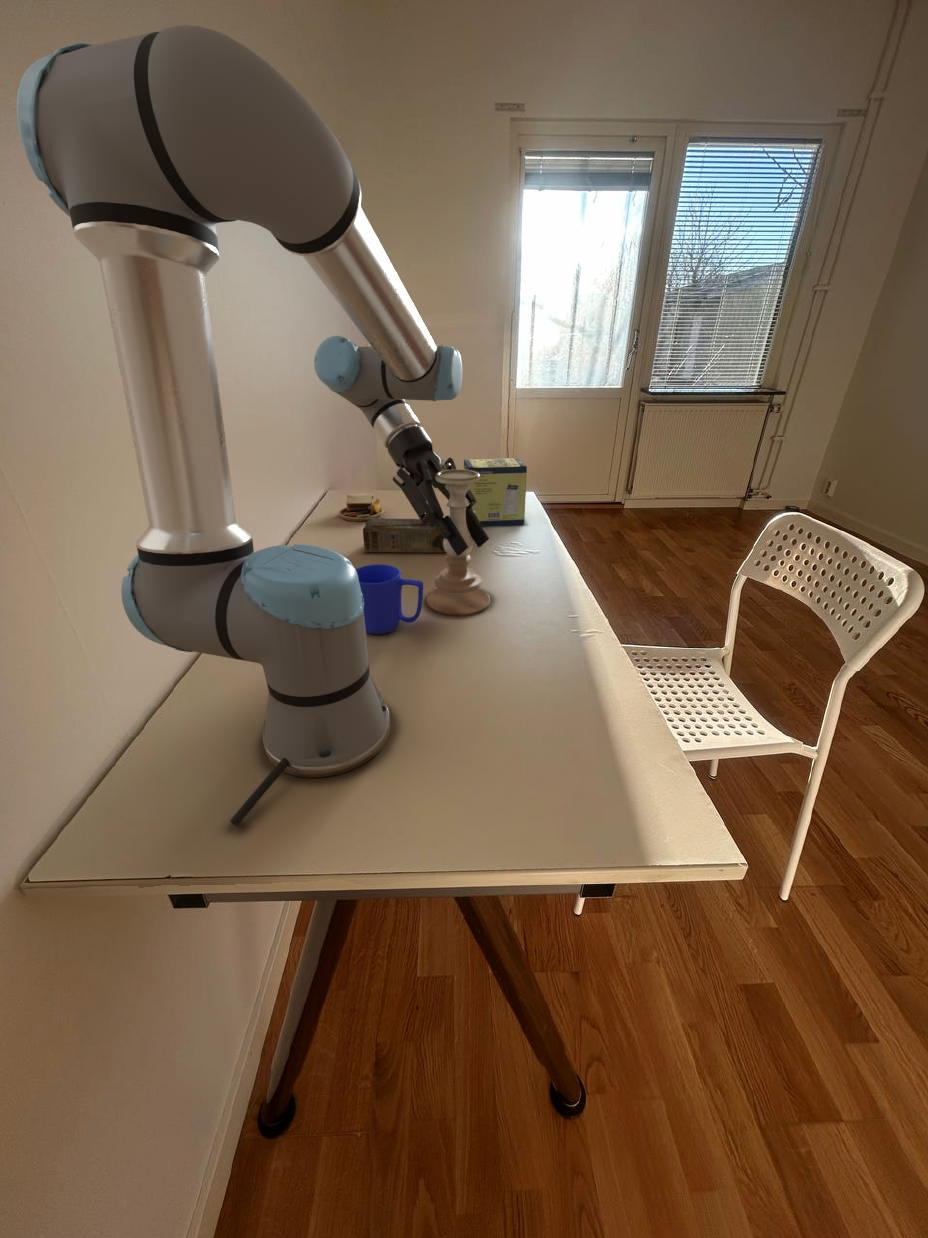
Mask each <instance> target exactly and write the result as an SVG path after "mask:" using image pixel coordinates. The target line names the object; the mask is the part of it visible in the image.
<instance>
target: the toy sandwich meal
mask: <svg viewBox="0 0 928 1238" xmlns="http://www.w3.org/2000/svg"><path fill="white" fill-rule="evenodd" d="M346 498H347V499H346V502H345V504H346V507H343V508H341V509H340V510H339V511H338V512H337V514H338V516H339V517H340V518H342V519H343V520H345V521H348V522H349V521H350V522H367V521H368V519H369V518H380V516H381V515H382V514H383V513H384V509H383V508H382V507H381V502H380V498H376V499H375V501H374V502H373V500H374V494H372V493H367V492H366V493H365V492H364V493H363V492H359V493H357V492H355V493H348V494H347V496H346Z"/></svg>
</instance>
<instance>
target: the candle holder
mask: <svg viewBox="0 0 928 1238" xmlns="http://www.w3.org/2000/svg"><path fill="white" fill-rule="evenodd" d="M435 480H436V481H437V482H439V483H443V484H446V485H445V488H446V490H448V492H449V494H450V499H449V500H448V501H447V503H446V507H448V508H449V517H450V518H451V520H452V522H453V523H454V525H455V526H456V528H457V529H458V531H459V533H460V534H461V536H462V537H463V539H464V541H465V542H466V544H467V545H468V548H467V549H466V550H465V551H464V552H463V553H462V554H461V555H459V556H457V555H456V553H455V551H454V550H453V548H452V547H451V545H450V543H449V542H448V540H447V539H445V538H444V540H443V547H444V550H445V553H446V554H447V555H445V557H444V561H445V562H446V564H447V565H448V567H447V568H444V569H443V570H441V571H440V573H439V574H437V575H435V577H434V586H435V587H436V588H437V590H438V589H439V590H441V591H444V592H448V593H468V592H472V591H475V590H477V589H480V588H481V587H482V584H483V580H482V577H481V575H480V574H478V573H477V572H476V571H475V570H474V569H472V568H470V567H469V566H468V565H470V564H469V563H470V562H471V561H472V557H471V555H470V553H471V551H472V550H473V547H474V540H473V539H472V537H471V534H470V532H469V530H468V527H467V524H466V507H468V506H469V503H468V502H467V500H466V493H467V491H468V490H469V489H470V484H473V483H476V482H478V481H479V480H480V474H479V473H478V472H475V471H472V470H464V468H463V469H462V468H461V469H459V468H456V469H452V470H444V471H440V472H438V473H436V475H435Z"/></svg>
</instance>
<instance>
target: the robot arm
mask: <svg viewBox="0 0 928 1238" xmlns="http://www.w3.org/2000/svg"><path fill="white" fill-rule="evenodd" d="M16 95H17V96H16V121H17V127H18V133H19V137H20V141H21V144H22V147H23V151H24V153H25V156H26V158H27V161H28V163H29V166H30V167H31V169H32V171H33V174H34V175H35V176H36V179H37V180H38V181H39V182H43V183H44V184H45V186H46V187H47V188H48V190H47V195H48V196H49V197H50V199H51V200H52V201H53V202H54V204H55V205H56V206H57V207H58V208H59V209H60V210H61V211H62V212H63V213H64V214H65V215H67V216H68V217H69V218H70V221H71V227H72V231H73V235H74V238H75V239H76V240H77V242H79V243H80V244H81V245H83V246H84V248H85V249H87V250H88V251H89V252H90V254H92V255H93V257H95V258H96V260H97V261H98V263H99V268H100V272H101V278H102V282H103V283H102V284H103V288H104V292H105V293H104V294H105V299H106V303H107V309H108V314H109V319H110V325H111V329H112V335H113V341H114V345H115V351H116V357H117V361H118V368H119V372H120V378H121V383H122V389H123V394H124V399H125V404H126V409H127V414H128V415H127V416H128V419H129V421H128V422H129V426H130V430H131V431H130V432H131V436H132V441H133V446H134V453H135V458H136V463H137V468H138V471H139V472H138V473H139V479H140V485H141V489H142V493H143V495H142V496H143V500H144V504H145V510H146V515H147V521H148V527H147V529H146V530H145V531H144V532H143V533H142V534H141V535H140V536H139V538H138V539H137V540H136V550H137V555H136V556H135V557H134V558H133V559H132V560H131V561H130V563H129V564H128V566H127V568H126V570H127V572H128V574H127V575H126V576H124V577H122V580H121V581H122V582H121V588H120V589H121V602H122V606H123V609H124V612H125V614H126V617H127V618H128V620H129V622H130V623H131V625H132V626H133V627H134V629H135V630H136V631H137V632H138V633H140V634H141V635H142V636H143V637H144V638H146V640H147V639H148V640H149V641H151V642H153V643H156V644H158V645H162V646H166V647H169V648H172V649H174V650H176V651H179V652H185V653H194V652H195V653H199V654H206V655H211V656H215V657H216V656H217V657H222V658H228V659H232V660H238V661H244V662H250V663H255V664H259V665H260V666H262V669H263V673H264V677H265V681H266V686H267V691H268V696H267V697H268V698H267V703H266V704H267V705H266V712H265V719H264V723H263V726H262V743H263V747H264V752H265V754H266V755H265V756H266V757H267V759H268V760H269V762H270V763H271V764H272V765H273V766H274V768H273V769H272V770H271V771H270V772H269V774H267V776H266V777H265V778H264V779H263V780H262V782H261V783H260V784H259V785H258V786H257V787H256V789H255V790H254V791H253V792H252V794H251V795H250V796H249V797H248V798H247V799H246V801H245V802H244V803H243V804H242V806H241V807H240V808H239V809H238V810H237V811H236V813H235V814H234V815H233V816H232V817H231V819H230V820H229V822H230V823H231V824H232V825H233V826H235V827H239V825H240V824H241V823H242V821H243V820H244V819H245V818H246V816H248V814H249V813H250V812H251V811H252V809H253V808H254V806H255V805H256V804H257V803H258V802H259V801H260V799H261V798H262V797H263V796H264V795H265V793H266V792H267V790H269V789H270V787H271V786H272V785H273V784H274V783H275V782H276V780H277V779H278V778H279V777H280V776H281V774H282V773H283V772H284V773H286V774H288V775H292V776H295V777H302V778H324V777H325V778H327V777H331V776H336V775H341V774H343V773H346V772H349V771H351V770H354V769H356V768H358V767H361V766H362V765H363V764H365V763H367V762H368V761H370V760H371V759H373V758H374V757H375V756H376V755H377V754H378V753H379V752H380V751H381V750H382V749H383V747H384V746H385V745H386V743H387V741H388V739H389V736H390V732H391V717H390V712H389V711H390V710H389V708H388V705H387V703H386V702H385V701H386V700H385V699H384V698H383V696H382V694H381V691H380V690H379V688H378V686H377V684H376V682H375V680H374V679H373V676H372V675H371V671H370V661H369V660H370V659H369V652H368V650H369V649H368V642H367V632H366V630H365V620H364V610H363V609H364V598H363V595H362V592H361V588H360V583H359V578H358V574H357V572H356V569H357V568H355V567H354V565H353V564H352V562H351V561H350V560H349V559H348V558H347V557H345V556H344V555H342V554H340V553H339V552H336V551H335V550H332V549H329V548H327V547H322V546H317V545H311V544H303V543H302V544H301V543H296V544H294V545H290V546H289V545H286V544H280V545H273V546H268V547H264V548H262V549H259V550H256V551H255V548H254V540H253V535H252V533H250V532H249V531H248V530H246V529H245V528H244V527H243V526H241V525H240V524H239V522H238V521H237V518H236V511H235V504H234V496H233V495H234V494H233V487H232V480H231V479H232V478H231V472H230V463H229V455H228V447H227V439H226V433H225V423H224V416H223V410H222V408H223V407H222V401H221V394H220V393H221V391H220V384H219V377H218V370H217V369H218V368H217V361H216V360H217V359H216V353H215V346H214V338H213V329H212V321H211V315H210V305H209V299H208V298H209V297H208V291H207V284H206V276H207V274H208V273H209V272H210V271H211V269H212V268H213V267H214V266H215V265H216V264H217V263H218V262H219V261H220V250H219V241H218V232H217V224H221V223H231V222H236V221H241V222H246V223H252V224H255V225H257V226H259V227H261V228H264V229H266V230H267V231H269V232H270V234H272V236H273V237H274V239H275V240H276V241H277V242H278V244H279V245H280V246H281V247H282V248H283V249H284V250H286V251H287V252H289V253H291V254H293V255H296V256H299V257H303V259H304V260H305V262H306V263H307V264H308V265H309V267H310V268H311V269H312V271H313V272H314V273H315V275H316V277H318V278H319V280H320V281H321V282H322V284H323V285H324V286H325V287H326V289H327V290H328V291H329V293H330V294H331V295H332V296H333V298H334V299H335V301H336V302H337V303H338V305H339V306H340V307H341V308H342V310H343V311H344V312H345V313H346V315H347V316H348V318H349V319H350V320H351V322H352V323H353V325H355V327H356V328H357V329H358V330H359V332H360V334H362V336H363V337H364V339H365V340H366V341H367V342H368V344H369V345H370V346H358V345H357V344H356V343H355V342H353V341H352V340H349V339H348V338H347V337H345V336H341V335H332V336H330V337H327V338H325V339H324V340H323V341H322V342H321V343H320V344H319V345H318V346H317V349H316V351H315V354H314V359H313V366H314V371H315V373H316V376H317V377H318V379H319V380H320V381H321V383H323V384H324V385H325V386H326V387H327V388H328V389H329V390H330V391H331V392H333V393H335V394H337V395H339V396H340V397H341V398H343V399H344V400H346V401H348V402H349V403H351V404H352V405H353V406H355V407H357V408H358V409H359V410H360V411H361V412H362V413H363V415H364V416H365V418H366V419H367V421H368V422H369V424H370V426H371V427H372V428H373V430H374V432H375V434H376V435H377V437H378V438H379V440H380V441H381V443H382V445H383V446H384V448H386V449H387V453H388V454H389V456H390V457H391V460H392V461H393V462H394V464H395V466H396V467H397V468H398V469H397V471H396V473H395V474H394V475H393V477H392V481H393V482H394V483H395V485H397V486H398V487H399V489H401V491H402V492H403V494H404V496H405V497H406V499H407V500H408V503H409V504H410V506H411V507H412V509H413V511H414V512H415V514H416V515H417V517H418V519H420V520H421V521H422V523H424V524H427V523H430V524H429V525H430V526H431V527H434V526H435V525H436V527H437V528H438V530H439V532H440V533H441V535H442V536H443V538H445V539H447V540H448V542H449V543H450V545H451V547H452V548H453V550H454V551H455V553H456V555H457V556H459V555H461V554H462V553H463V552H464V551H465V550H466V549H467V548H468V545H467V544H466V542H465V541H464V539H463V537H462V536H461V534H460V533H459V531H458V529H457V528H456V526H455V525H454V523H453V522H452V520H451V518H450V514H449V515H445V514H444V512H443V509H442V507H441V504H440V502H439V499H438V497H437V494H436V491H435V489H438V491H439V492H441V494H442V495H443V496H444V497H445V498H446V499H447V500H448V501H449V499H450V494H449V492H448V490H446V488H445V485H446V484H443V483H439V482H437V481H436V480H435V475H436V473H438V472H440V471H444V470H452V469H457V466H456V462H455V460H454V459H453V458H452V457H448V458H447V459H441V458H440V456H439V455H437V454H436V453H435V452H434V450H433V442H432V440H431V438H430V436H429V434H427V432H426V431H425V429H424V428H423V427H422V425H421V422H420V421H419V419H418V417H417V416H416V415H415V413H414V412H413V410H412V409H411V407H410V405H409V404H408V403H407V402H406V400H407V401H408V400H409V401H428V402H429V401H431V402H437V401H453V400H454V399H456V398H457V396H458V395H459V394H460V392H461V388H462V383H463V362H462V357H461V354H460V351H459V350H458V349H457V348H456V347H453V346H450V345H449V346H448V345H444V344H441V345H437V344H436V343H435V341H434V339H433V338H432V335H430V332H429V331H428V329H427V327H426V325H425V323H424V322H423V319H422V317H421V316H420V314H419V312H418V310H417V308H416V306H415V304H414V302H413V300H412V299H411V297H410V295H409V294H408V292H407V289H406V288H405V286H404V284H403V282H402V281H401V278H400V276H399V275H398V272H397V271H396V269H395V267H394V266H393V264H392V262H391V260H390V258H389V256H388V255H387V252H386V250H385V249H384V247H383V244H382V243H381V242H380V239H379V238H378V236H377V234H376V232H375V230H374V228H373V227H372V225H371V222H370V221H369V219H368V218H367V215H366V213H365V211H364V210H363V207H362V205H361V203H362V187H361V183H360V180H359V178H358V175H357V174H356V171H355V170H354V167H353V165H352V164H351V161H350V160H349V158H348V156H347V155H346V153H345V151H344V149H343V146H342V145H341V143H340V141H339V140H338V138H337V137H336V136H335V135H334V133H333V132H332V131H331V129H330V127H329V126H328V125H327V123H326V122H325V121H324V119H323V118H322V117H321V116H320V114H319V113H318V112H317V111H316V109H314V107H313V106H312V105H311V104H310V102H309V101H308V100H307V99H306V97H304V95H303V94H302V93H300V91H299V90H298V89H297V88H296V87H295V86H294V85H293V84H292V83H291V82H290V81H289V80H288V79H287V78H286V77H284V76H283V74H281V73H280V72H279V71H278V70H277V68H275V67H274V66H273V65H271V63H269V62H268V61H267V60H265V59H264V58H263V57H261V56H260V55H258V54H257V53H256V52H254V50H252V49H250V48H249V47H247V46H245V45H244V44H243V43H240V42H239V41H238V40H235V39H234V38H232V37H230V36H229V35H226V34H224V33H221V32H219V31H217V30H214V29H210V28H208V27H204V26H200V25H190V24H183V25H174V26H170V27H165V28H163V29H161V30H160V31H153V32H148V33H143V34H139V35H135V36H130V37H124V38H121V39H115V40H111V41H107V42H102V43H101V42H100V43H97V44H90V43H82V42H80V43H72V44H70V45H69V44H68V45H64V46H62V47H59V48H58V49H56V50H55V51H53V52H52V53H51V54H49V55H45V56H42V57H40V58H38V59H37V60H35V61H34V62H33V63H32V64H31V65H30V66H29V67H28V68H27V69H26V70H25V72H24V74H23V75H22V78H21V80H20V83H19V86H18V91H17V94H16ZM466 500H467V502H468V503H469V506H468V507H466V524H467V527H468V530H469V532H470V534H471V537H472V540H473V543H474V544H475V545H476V546H477V548H481V547H482V546H483V545H484V544H485V543H486V542H488V541H489V540H490V538H489V536H488V534H487V533H486V531H485V530H484V528H483V526H481V525H480V524H481V523H480V521H479V519H478V517H477V516H476V514H475V513H474V511H473V509H472V507H473V506H474V504H475V503H476V502H477V500H476V498H475V497H474V495H473V494H472V492H471V490H470V489H469V490H468V491H467V493H466Z"/></svg>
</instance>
